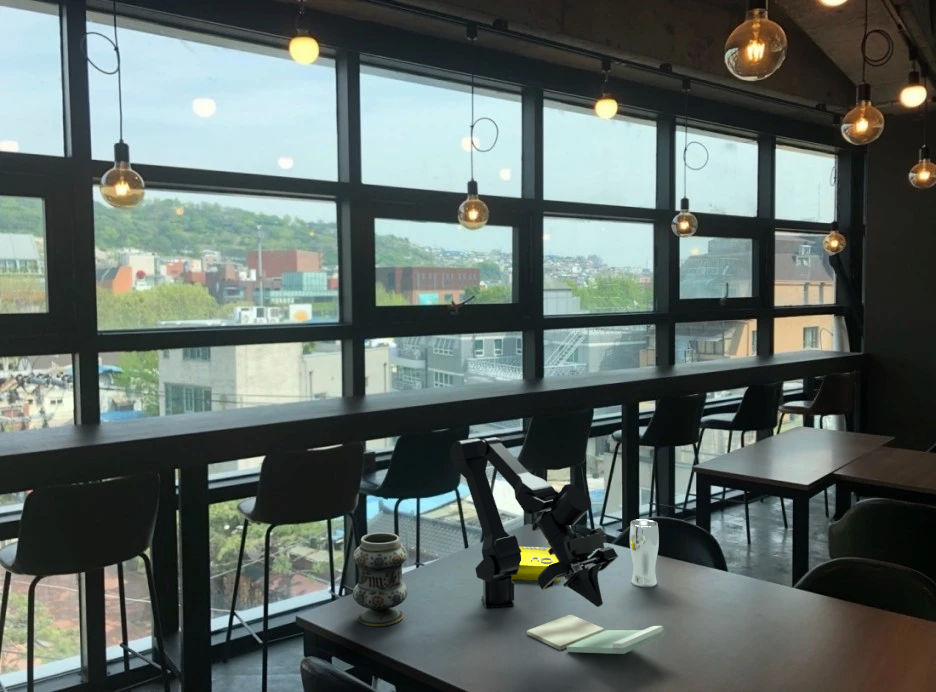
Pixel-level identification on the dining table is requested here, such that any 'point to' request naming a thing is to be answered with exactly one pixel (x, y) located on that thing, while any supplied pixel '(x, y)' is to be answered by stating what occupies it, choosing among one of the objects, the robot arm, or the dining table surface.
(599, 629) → the plate
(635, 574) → the beer glass
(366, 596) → the apothecary jar
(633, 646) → the panel
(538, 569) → the element tile
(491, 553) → the robot arm
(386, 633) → the dining table surface
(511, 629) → the dining table surface
